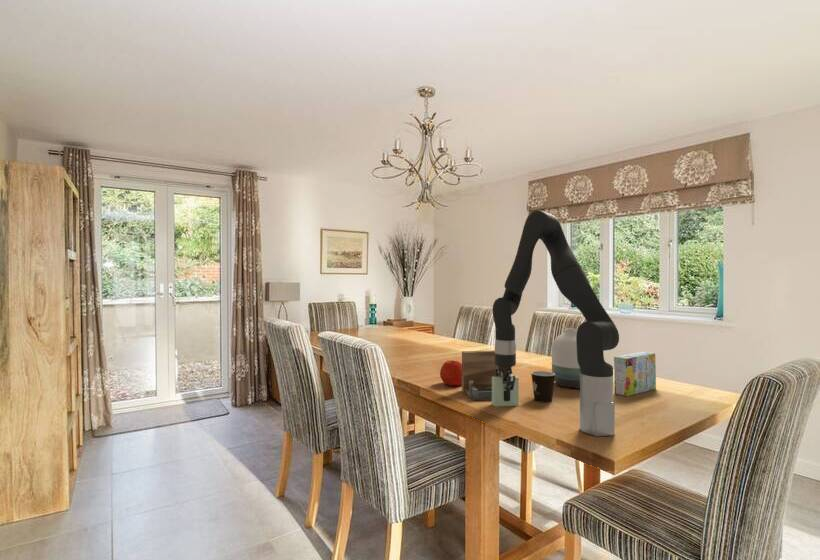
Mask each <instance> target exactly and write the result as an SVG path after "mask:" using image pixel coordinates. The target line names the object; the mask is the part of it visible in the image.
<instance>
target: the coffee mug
mask: <svg viewBox="0 0 820 560" xmlns="http://www.w3.org/2000/svg"><path fill="white" fill-rule="evenodd" d="M554 380H555V373H552V371H547V370H534V371H531V381H532V382H531V383H532V390H533V399H534V401H536V402H538V401H539V402H540V403H551V402H552V401H553V395H554V386H555V381H554Z"/></svg>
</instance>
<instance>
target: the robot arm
mask: <svg viewBox="0 0 820 560" xmlns="http://www.w3.org/2000/svg"><path fill="white" fill-rule="evenodd" d="M539 240H541V241H542V243H543V245H544V246H545V247H546V249H547V252H548V253H549V256H550V257H549V258H550V271H551V275H552V278H553V280H554V281H555V285H556V287H557V288H558V290H559V292H560V293H561V295H563V296H564V298H565V299H567V300H568V301H569V302H570V303H571V304H572V305H573V306H574V307H576V309H578V310H579V311H580V313H581V314H582V316H583V318H585V321H583V322H582V323H580V324H579V326H578V328H577V329H578V330H577V335H576V345H577V361H578V364H579V367H580V388H579V430H580V431H581V432H583V433H585V434H588V435H592V436H594V437H605V436H606V437H607V436H615V433H616V432H615V428H616V427H615V425H616V421H615V419H616V418H615V417H616V416H615V415H616V413H615V411H616V410H615V409H616V407H615V403H614V367H613V366H614V365H612V364H611V363H608V362H607V361H606V360H605V357H604V351H610V350H611V351H612V350H614V349H615V348H617V346H618V345H619V342H620V334H619V331H618V330H619V329H618V328H617V326H616V324H615V322H614V321H613V319H612V318H611V317H610V314H608V312H607V311H606V310H605V308H604V307H603V305H602V303H601V302H600V299H599V298H598V296H597V294H596V293H595V291H594V289H593V288H592V285H591V284H590V282H589V279H588V278H587V275H586V274H585V272H584V270H583V269H582V266H581V264H580V262H579V261H578V259H577V257H576V256H575V253H574V251H573V250H572V248H571V246H570V245H569V243H568V240H567V238H566V235H565V233H564V230H563V228H562V225H561V223H560V220H559V219H558V218H557V217H556V216H555V215H553V214H551V213H550V212H549V213H548V212H547V211H544V210H541V209H540V210H539V209H537V210H534V211H531V212H530V213H529V215H528V216H527V218H526V220H525V221H524V225H523V227H522V232H521V235H520V241H519V242H518V243H519V244H518V246H517V247H518V248H517V251H516V255H515V258H514V261H513V264H512V266H511V268H510V270H509V273H508V275H507V277H506V280H505V282H504V288H505V289H504V293H503V295H502V296H501V297H498V298H496V299H495V301H493V304H492V316H493V323H494V326H495V329H494V330H495V337H494V338H495V341H494V350H495V365H497V366H499V369H496V377H502V384H503V385H504V401H510V391H511V390H513V388H514V383H515V376H516V375H513V370H512V368H513V367H515V366H517V365H516V364H517V362H516V361H517V357H516V356H517V353H516V352H517V350H516V349H517V345H516V327H515V324H513V321H512V316H513V315H514V314H515V313H516V312H517V311H518V309H519V306H520V304H521V301H522V297H523V293H524V290H525V289H526V286H527V284H528V281H529V279H530V276H531V273H532V267H533V256H534V255H533V254H534V250H535V247H536V245H537V243H538V241H539ZM505 381H507V382H505Z"/></svg>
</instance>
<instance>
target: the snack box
mask: <svg viewBox="0 0 820 560" xmlns="http://www.w3.org/2000/svg"><path fill="white" fill-rule="evenodd" d="M613 364H614V365H613V366H614V367H613V381H614V394H615V395H618V396H619V395H620V396H624V397H629V396H632V395H636V394H641V393H645V392H649V391H652V390H656V389H657V379H656V378H657V376H656V373H657V371H656V368H657V367H656V352H651V351H639V352H634V353H628V354H623V355H617V356H614V357H613Z"/></svg>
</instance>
